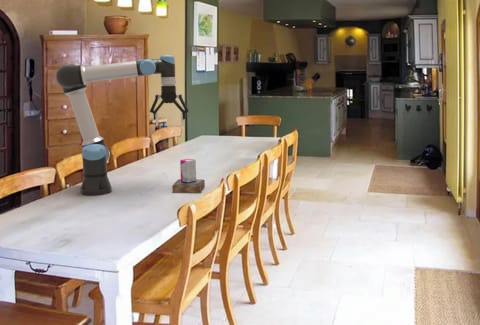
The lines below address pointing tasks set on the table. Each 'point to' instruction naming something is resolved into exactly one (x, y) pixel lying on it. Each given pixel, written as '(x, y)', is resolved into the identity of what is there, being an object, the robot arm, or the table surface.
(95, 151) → the robot arm
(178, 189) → the walnut stand
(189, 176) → the supplement box
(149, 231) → the table surface
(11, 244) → the table surface
